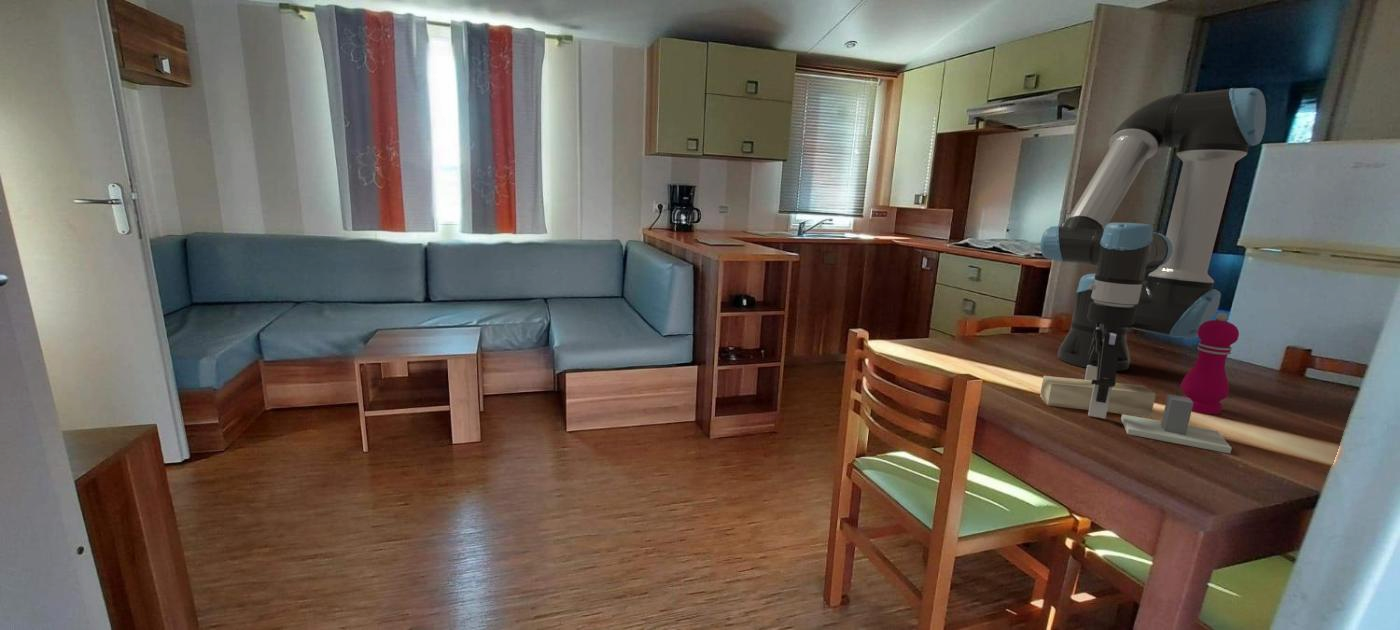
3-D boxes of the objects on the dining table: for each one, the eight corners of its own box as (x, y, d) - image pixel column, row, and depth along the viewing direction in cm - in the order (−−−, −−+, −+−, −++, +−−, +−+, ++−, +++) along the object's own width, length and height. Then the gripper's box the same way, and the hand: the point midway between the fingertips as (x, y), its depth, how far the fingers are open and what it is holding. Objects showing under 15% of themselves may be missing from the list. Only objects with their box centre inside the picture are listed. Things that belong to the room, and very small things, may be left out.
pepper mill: (1232, 417, 109) (1258, 318, 105) (1190, 413, 111) (1214, 315, 106) (1208, 403, 116) (1231, 310, 112) (1168, 400, 118) (1189, 307, 113)
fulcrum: (1120, 418, 107) (1128, 384, 106) (1216, 436, 100) (1225, 399, 99) (1127, 434, 100) (1135, 397, 99) (1230, 453, 94) (1240, 414, 92)
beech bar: (1039, 398, 118) (1043, 375, 117) (1138, 408, 114) (1143, 385, 112) (1047, 406, 113) (1051, 383, 112) (1150, 417, 109) (1155, 393, 108)
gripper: (1084, 291, 121) (1066, 384, 126) (1097, 311, 100) (1075, 422, 104) (1126, 295, 117) (1107, 391, 122) (1149, 317, 96) (1125, 431, 101)
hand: (1092, 405), depth 113 cm, fingers open, 13 cm apart
